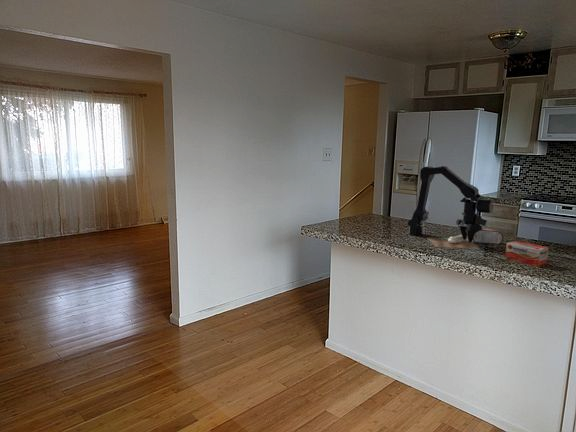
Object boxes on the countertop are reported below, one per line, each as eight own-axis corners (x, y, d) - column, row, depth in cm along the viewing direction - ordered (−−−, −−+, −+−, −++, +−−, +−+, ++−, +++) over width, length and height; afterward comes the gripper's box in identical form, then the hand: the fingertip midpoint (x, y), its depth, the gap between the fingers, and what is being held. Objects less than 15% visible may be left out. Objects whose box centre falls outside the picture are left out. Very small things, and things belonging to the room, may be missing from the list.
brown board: (434, 249, 207) (435, 246, 207) (426, 239, 227) (426, 237, 227) (480, 251, 205) (480, 248, 205) (467, 241, 225) (468, 238, 224)
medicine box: (504, 259, 193) (506, 242, 191) (513, 256, 197) (515, 240, 196) (538, 267, 180) (540, 249, 179) (547, 264, 185) (549, 247, 183)
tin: (501, 245, 218) (503, 229, 216) (502, 246, 215) (504, 231, 213) (470, 242, 223) (472, 227, 221) (471, 243, 220) (473, 228, 218)
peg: (453, 243, 213) (454, 238, 212) (446, 241, 216) (446, 236, 216) (467, 240, 220) (467, 235, 219) (459, 239, 223) (460, 234, 223)
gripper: (494, 214, 203) (491, 245, 205) (477, 209, 221) (475, 237, 223) (471, 213, 203) (468, 244, 205) (456, 208, 221) (454, 237, 224)
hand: (467, 241), depth 214 cm, fingers open, 7 cm apart
